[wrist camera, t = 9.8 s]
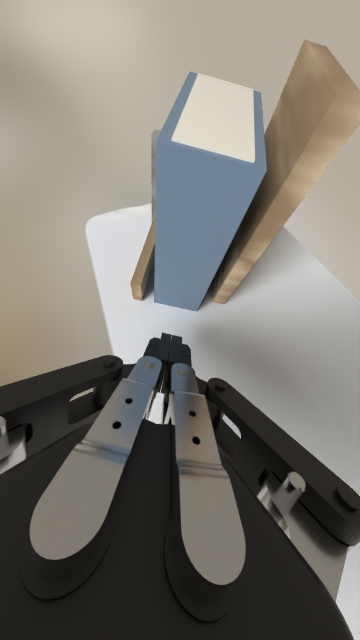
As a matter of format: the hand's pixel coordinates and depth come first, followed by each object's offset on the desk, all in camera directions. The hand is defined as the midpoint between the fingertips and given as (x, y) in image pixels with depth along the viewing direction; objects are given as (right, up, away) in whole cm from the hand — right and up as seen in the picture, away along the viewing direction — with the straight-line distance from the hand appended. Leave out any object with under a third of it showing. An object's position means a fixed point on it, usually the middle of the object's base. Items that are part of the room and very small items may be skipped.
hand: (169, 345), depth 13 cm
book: (+1, +8, +9) cm, 12 cm away
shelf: (+1, +9, +10) cm, 13 cm away
